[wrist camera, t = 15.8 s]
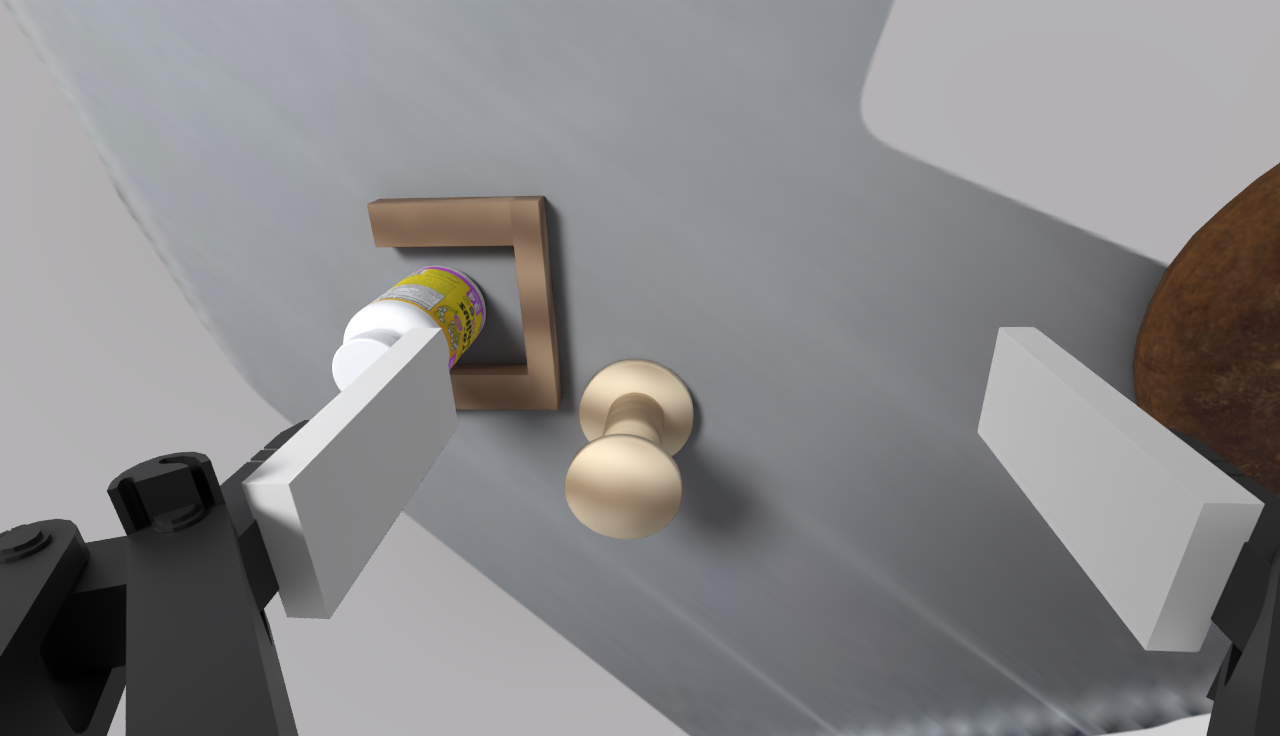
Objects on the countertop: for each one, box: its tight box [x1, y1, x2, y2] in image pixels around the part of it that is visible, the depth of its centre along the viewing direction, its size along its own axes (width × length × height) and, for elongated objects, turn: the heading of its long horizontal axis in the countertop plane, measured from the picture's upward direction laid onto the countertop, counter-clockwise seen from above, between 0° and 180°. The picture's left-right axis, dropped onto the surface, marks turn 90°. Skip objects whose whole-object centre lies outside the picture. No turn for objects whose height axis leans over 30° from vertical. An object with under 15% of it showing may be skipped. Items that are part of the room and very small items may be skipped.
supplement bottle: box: [332, 266, 486, 391], centre depth 44 cm, size 7×7×13 cm
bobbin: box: [565, 359, 693, 539], centre depth 47 cm, size 9×9×11 cm
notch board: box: [367, 196, 563, 410], centre depth 49 cm, size 16×12×2 cm
